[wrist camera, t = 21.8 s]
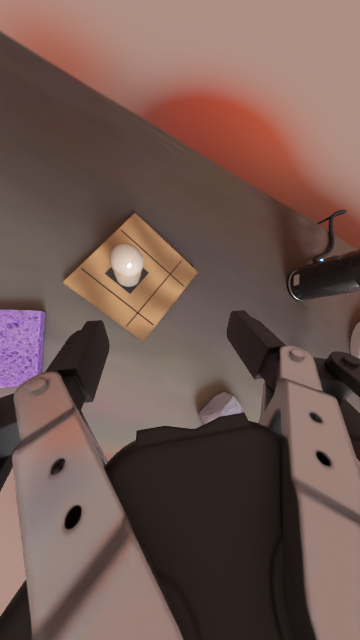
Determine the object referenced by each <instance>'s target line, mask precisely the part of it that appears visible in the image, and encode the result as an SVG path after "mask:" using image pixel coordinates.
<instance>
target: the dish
mask: <svg viewBox="0 0 360 640" xmlns="http://www.w3.org/2000/svg"><path fill="white" fill-rule="evenodd" d="M350 352H351V355H353V356H355V357H358V358H359V359H360V322H359V323H358V324H357V325H356V326H355V328H354V330H353V333H352V336H351V342H350Z"/></svg>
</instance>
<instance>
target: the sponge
mask: <svg viewBox="0 0 360 640" xmlns="http://www.w3.org/2000/svg"><path fill="white" fill-rule="evenodd" d="M44 323H45V312H43V311H34V310H1V309H0V388H1V387H8V386H20V385H22V384H23V383H24V382H26V381H27V380H28V379H30V378H32V377H34V376H36V375H38V374H41V371H42V359H43V343H44V340H43V339H44V334H43V332H44V328H45V324H44Z"/></svg>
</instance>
